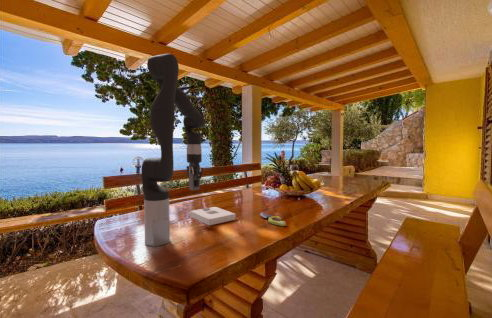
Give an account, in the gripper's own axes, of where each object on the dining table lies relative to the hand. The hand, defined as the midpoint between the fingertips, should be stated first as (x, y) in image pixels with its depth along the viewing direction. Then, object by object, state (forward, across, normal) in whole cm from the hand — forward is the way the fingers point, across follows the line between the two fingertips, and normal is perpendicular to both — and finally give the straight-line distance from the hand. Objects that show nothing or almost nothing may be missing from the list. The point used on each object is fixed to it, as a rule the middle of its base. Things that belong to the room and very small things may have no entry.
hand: (194, 186), depth 123 cm
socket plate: (+18, +4, +9) cm, 20 cm away
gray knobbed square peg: (+2, 0, 0) cm, 2 cm away
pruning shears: (+18, +26, +31) cm, 44 cm away
